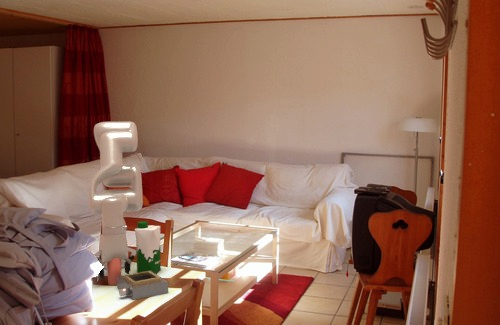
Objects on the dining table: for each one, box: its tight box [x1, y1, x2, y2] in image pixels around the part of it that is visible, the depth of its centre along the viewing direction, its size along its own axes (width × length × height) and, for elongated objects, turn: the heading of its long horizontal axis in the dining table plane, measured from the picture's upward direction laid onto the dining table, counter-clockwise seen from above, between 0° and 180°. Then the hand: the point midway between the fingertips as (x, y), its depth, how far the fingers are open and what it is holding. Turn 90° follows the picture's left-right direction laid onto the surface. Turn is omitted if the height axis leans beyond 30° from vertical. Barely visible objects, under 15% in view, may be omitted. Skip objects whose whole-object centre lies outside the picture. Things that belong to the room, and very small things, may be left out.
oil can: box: [106, 258, 123, 286], centre depth 204 cm, size 5×5×13 cm
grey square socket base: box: [116, 271, 169, 301], centre depth 195 cm, size 16×16×5 cm
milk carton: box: [134, 220, 162, 274], centre depth 217 cm, size 9×9×20 cm
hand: (114, 275), depth 204 cm, fingers open, 9 cm apart
